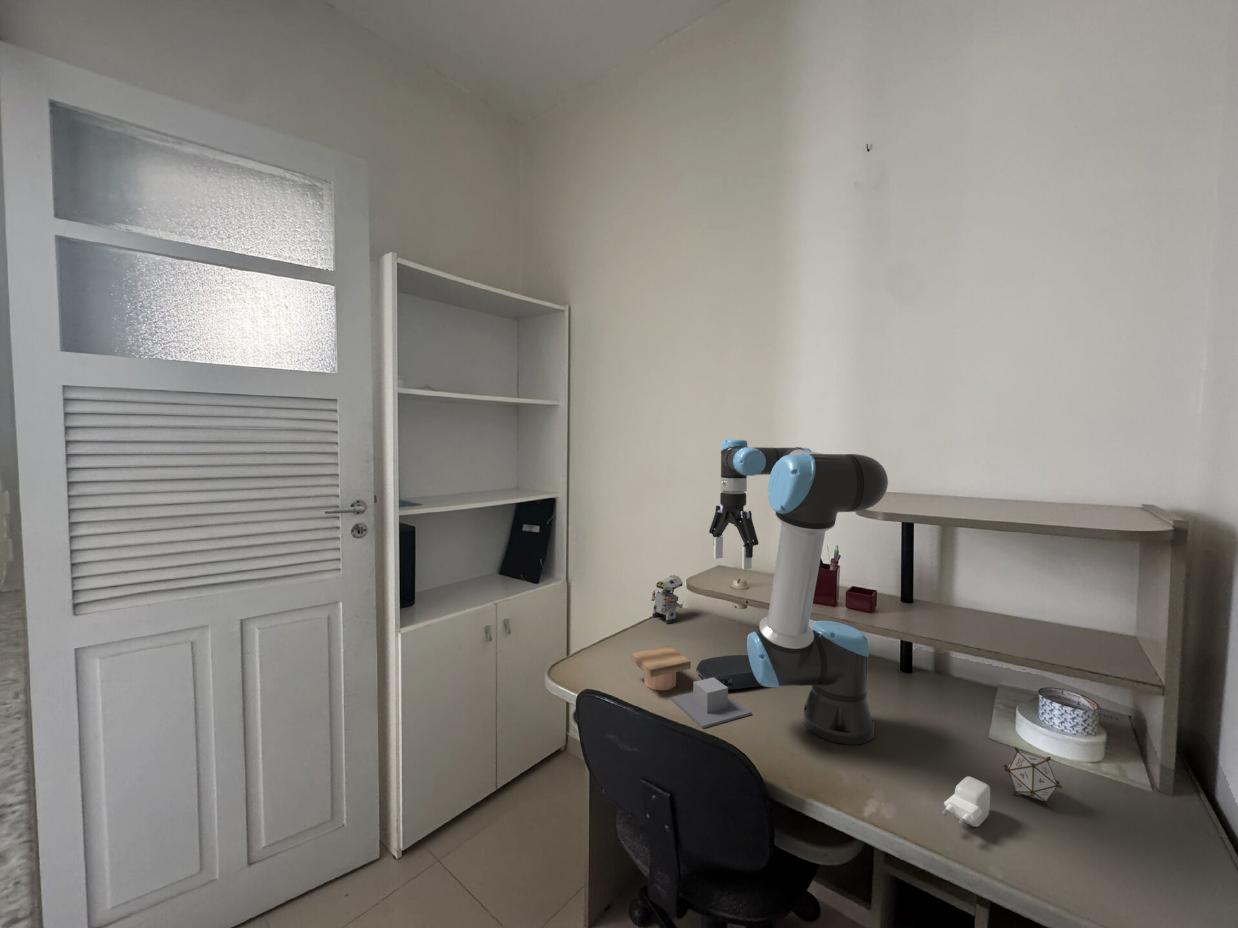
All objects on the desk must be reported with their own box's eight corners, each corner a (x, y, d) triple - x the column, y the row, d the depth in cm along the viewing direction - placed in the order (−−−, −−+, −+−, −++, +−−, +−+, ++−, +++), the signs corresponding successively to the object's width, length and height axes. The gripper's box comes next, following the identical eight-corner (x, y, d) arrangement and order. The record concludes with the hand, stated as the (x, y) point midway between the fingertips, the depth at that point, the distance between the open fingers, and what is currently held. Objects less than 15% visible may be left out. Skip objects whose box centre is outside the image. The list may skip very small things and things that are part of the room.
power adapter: (967, 847, 84) (968, 812, 84) (935, 828, 88) (936, 795, 88) (994, 818, 91) (995, 785, 90) (963, 801, 95) (964, 771, 94)
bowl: (681, 686, 137) (681, 667, 137) (654, 692, 134) (654, 673, 134) (665, 672, 145) (665, 655, 145) (639, 678, 141) (639, 660, 141)
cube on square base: (751, 714, 124) (752, 691, 123) (702, 728, 118) (703, 704, 117) (716, 688, 136) (717, 667, 136) (670, 699, 130) (671, 678, 130)
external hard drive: (693, 670, 145) (694, 656, 145) (754, 664, 151) (755, 650, 150) (715, 693, 133) (716, 677, 132) (780, 685, 138) (781, 670, 138)
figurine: (689, 619, 187) (689, 578, 186) (663, 625, 181) (664, 583, 180) (673, 611, 195) (673, 572, 194) (648, 617, 189) (648, 576, 188)
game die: (1035, 823, 95) (1039, 800, 89) (990, 780, 102) (991, 756, 96) (1071, 794, 96) (1078, 770, 90) (1024, 754, 103) (1027, 729, 98)
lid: (690, 668, 137) (690, 661, 137) (650, 677, 132) (650, 669, 131) (669, 652, 147) (669, 645, 146) (631, 660, 142) (631, 653, 141)
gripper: (698, 488, 162) (697, 555, 163) (751, 497, 140) (749, 574, 141) (718, 487, 165) (717, 552, 167) (772, 496, 143) (770, 571, 144)
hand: (731, 563), depth 154 cm, fingers open, 13 cm apart
